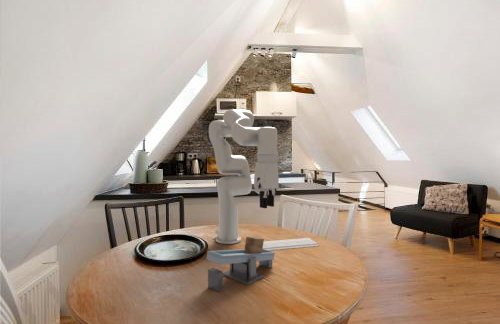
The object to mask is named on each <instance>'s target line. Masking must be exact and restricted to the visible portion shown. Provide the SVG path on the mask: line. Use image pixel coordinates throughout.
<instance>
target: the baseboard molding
mask: <svg viewBox="0 0 500 324" xmlns="http://www.w3.org/2000/svg"><path fill="white" fill-rule="evenodd" d="M319 246H320V245H319V243H318V242H317V241H315V240H313V239H312V238H310V237H303V238H290V239H281V240H280V239H277V240H268V241H267V240H264V242H263V249H266V250H269V251H272V252H273V251H279V250H280V251H281V250H290V249H291V250H292V249H293V248H294V249H301V248H302V249H304V248H313V247H319Z"/></svg>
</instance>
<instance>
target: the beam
mask: <svg viewBox="0 0 500 324" xmlns="http://www.w3.org/2000/svg"><path fill="white" fill-rule="evenodd" d="M244 250H245V248H244V249H243V248H242V249H224V250H207V254H206V260H208V261H211V262H213V263H216V264H218V265H230V264H232V263H243V262H249V259H250V258H252V257H256V262H259V261H264V260H272V261H273V260H274V259H275V252H274V251H273V250H272V251H269V250H266V249H262V253H253V254H245V253H244Z"/></svg>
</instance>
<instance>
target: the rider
mask: <svg viewBox="0 0 500 324" xmlns="http://www.w3.org/2000/svg"><path fill="white" fill-rule="evenodd" d="M264 241H265V240H264V238H262V237H258V236H246V237H245V245H244V249H245V250H244V253H245V254H253V253H262V249H263V242H264Z"/></svg>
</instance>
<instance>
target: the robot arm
mask: <svg viewBox="0 0 500 324" xmlns="http://www.w3.org/2000/svg"><path fill="white" fill-rule="evenodd" d="M254 121H255V116H254V114H253V112H252V111H251V110H248V109H237V108H236V109H234V108H232V109H231V108H230V109H228V110H226V111H225V112H224V113H223V116H222V119H217V120H215V119H214V120H212V121H211V122H210V124H209V125H208V137H209V140H210V143H211V145H212V147H213V150H214V158H215V164H216V169H217V172H218V173H219V174H220V175H227V176H222V177H219V179H218V180H217V182H216V189H217V196H218V228H217V229H216V230H215V231H214V234H216V235H217V236H216V237H215V242H216V243H218V244H222V245H235V244H238V243H240V242H241V241H242V237H241V236H240V235H239V203H238V201H237V200H236V199H235V196H244V195H248V194H251V192H252V189H253V188H254V192H255V193H256V194H257V195H258V198H259V208H261V209H267V208H268V207H272V208H273V207H275V196H276V192H277V191H278V189H279V188H280V185H279V179H280V178H279V166H278V129H277V128H276V127H272V126H263V127H256V126H255V127H254ZM225 138H231V139H232V140H233V141H234V142H235V143H237V144H238V145H239V146H243V147H257V163H255V167H254V176H253V177H254V178H253V183H252V177H251V172H250V165H249V161H248V160H247V158H246V157H245V156H244V155H238V154H237V155H234V154H233V152H232V147H231V145H230V143H229V142H228V141H227V140H226V139H225ZM229 175H231V176H229Z"/></svg>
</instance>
